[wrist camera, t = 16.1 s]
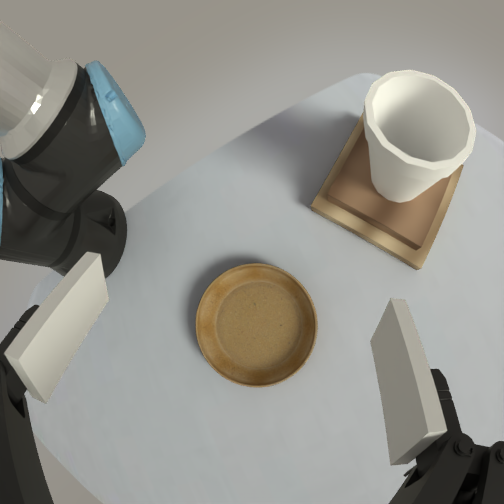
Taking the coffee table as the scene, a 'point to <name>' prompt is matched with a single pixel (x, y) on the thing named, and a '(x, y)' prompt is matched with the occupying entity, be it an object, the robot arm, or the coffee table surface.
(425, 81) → the foam cup
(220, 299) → the plant saucer
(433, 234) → the plinth
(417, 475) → the robot arm
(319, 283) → the coffee table surface
